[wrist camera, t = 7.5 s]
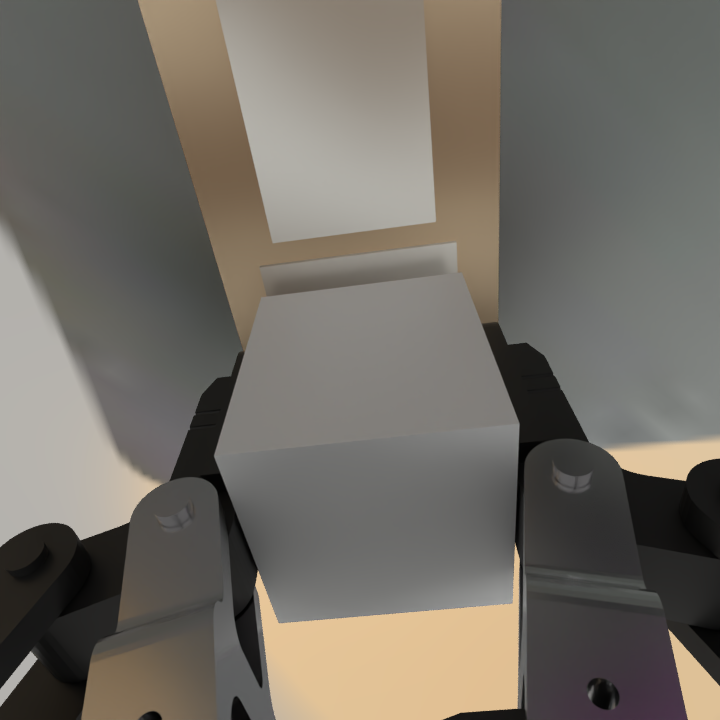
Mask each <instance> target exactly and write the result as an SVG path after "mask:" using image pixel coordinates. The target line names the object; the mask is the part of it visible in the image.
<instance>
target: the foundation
mask: <svg viewBox="0 0 720 720" xmlns="http://www.w3.org/2000/svg"><path fill="white" fill-rule="evenodd" d="M138 3H139V6H140V9H141V13H142V16H143V19H144V23H145V26H146V29H147V33H148V36H149V39H150V43H151V46H152V49H153V53H154V56H155V59H156V63H157V66H158V69H159V72H160V76H161V79H162V82H163V86H164V89H165V92H166V96H167V99H168V102H169V106H170V109H171V112H172V116H173V119H174V122H175V126H176V129H177V132H178V136H179V139H180V142H181V145H182V149H183V152H184V155H185V159H186V162H187V165H188V169H189V172H190V175H191V179H192V182H193V185H194V189H195V192H196V195H197V199H198V202H199V205H200V209H201V212H202V215H203V218H204V222H205V225H206V228H207V232H208V235H209V238H210V242H211V245H212V248H213V252H214V255H215V258H216V262H217V265H218V268H219V272H220V275H221V278H222V282H223V285H224V288H225V291H226V295H227V298H228V301H229V305H230V308H231V311H232V315H233V318H234V321H235V325H236V328H237V331H238V335H239V338H240V341H241V345H242V348H243V351H245V350H246V347H247V343H248V340H249V337H250V333H251V330H252V327H253V323H254V320H255V317H256V313H257V310H258V307H259V303H260V300H261V297H268V296H276V295H284V294H292V293H300V292H308V291H316V290H324V289H332V288H340V287H348V286H356V285H364V284H372V283H380V282H388V281H396V280H404V279H412V278H420V277H428V276H436V275H444V274H452V273H460V272H462V274H463V277H464V279H465V282H466V284H467V287H468V290H469V292H470V295H471V298H472V300H473V303H474V305H475V308H476V311H477V313H478V316H479V319H480V321H481V324H482V323H490V322H498V289H499V184H500V80H501V0H138Z"/></svg>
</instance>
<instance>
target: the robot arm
mask: <svg viewBox="0 0 720 720" xmlns="http://www.w3.org/2000/svg"><path fill="white" fill-rule="evenodd" d="M482 326H483V329H484V332H485V334H486V337H487V340H488V342H489V345H490V347H491V350H492V353H493V355H494V358H495V361H496V363H497V366H498V368H499V371H500V374H501V376H502V379H503V382H504V384H505V387H506V389H507V392H508V395H509V397H510V400H511V403H512V405H513V408H514V410H515V413H516V416H517V418H518V421H519V450H518V475H517V500H516V526H515V544H516V547H517V551H518V554H519V558H520V568H519V662H518V663H519V664H518V666H519V668H518V676H519V677H518V709H508V710H494V711H480V712H467V713H459V714H457V715H454V716H451V717H449V718H446V719H444V720H688V719H687V714H686V711H685V705H684V700H683V696H682V691H681V687H680V682H679V677H678V673H677V668H676V663H675V659H674V654H673V650H672V645H671V640H670V636H669V631H668V629H669V630H670V631H671V632H672V633H673V634H674V635H675V636H676V638H677V639H678V640H679V641H680V642H681V643H682V644H683V645H684V647H685V648H686V649H687V650H688V651H689V652H690V653H691V654H692V655H693V657H694V658H695V659H696V660H697V661H698V662H699V663H700V664H701V666H702V667H703V668H704V669H705V670H706V671H707V672H708V673H709V674H710V676H711V677H712V678H713V679H714V680H715V681H716V682H717V683H718V684H719V686H720V459H713V460H708V461H705V462H702V463H700V464H698V465H696V466H695V467H694V468H692V470H691V471H690V472H689V474H688V476H687V480H686V481H682V480H674V479H667V478H660V477H653V476H647V475H641V474H637V473H633V472H629V471H627V470H624V469H622V468H621V467H620V466H619V464H618V462H617V461H616V460H615V459H614V457H613V456H611V455H610V454H609V453H608V452H607V451H605V450H604V449H602V448H600V447H598V446H596V445H594V444H591V443H589V441H588V439H587V437H586V435H585V433H584V432H583V430H582V428H581V426H580V424H579V422H578V420H577V418H576V416H575V414H574V412H573V410H572V408H571V406H570V404H569V403H568V401H567V399H566V397H565V395H564V393H563V391H562V390H561V389H560V385H559V383H558V381H557V379H556V377H555V376H553V372H552V370H551V368H550V366H549V364H548V362H547V360H546V358H545V356H544V355H542V354H541V353H540V352H538V351H537V350H536V349H534V348H533V347H532V346H530V345H529V344H527V343H520V344H511V345H507V342H506V340H505V338H504V335H503V333H502V331H501V328H500V326H499V324H498V322H490V323H482ZM244 354H245V351H242V352H239V354H238V356H237V359H236V362H235V366H234V369H233V372H232V375H231V376H230V377H222V378H217V379H216V380H215V381H214V382H213V383H212V384H211V385H210V386H209V387H208V389H207V390H206V391H205V392H204V393H203V394H202V396H201V398H200V401H199V404H198V406H197V409H196V412H195V413H196V415H195V416H194V417H193V420H192V422H191V425H190V430H188V433H187V436H186V439H185V441H184V444H183V447H182V449H181V452H180V455H179V457H178V460H177V463H176V465H175V468H174V471H173V473H172V476H171V479H170V481H169V482H167V483H165V484H162V485H160V486H159V487H157V488H155V489H154V490H152V491H151V492H150V493H148V494H147V495H146V496H145V497H144V498H143V499H142V500H141V501H140V503H139V504H138V505H137V507H136V508H135V510H134V511H133V514H132V516H131V520H130V522H129V523H127V524H125V525H122V526H120V527H117V528H114V529H112V530H109V531H106V532H103V533H101V534H97V535H95V536H92V537H89V538H86V539H83V540H81V541H80V540H79V538H78V536H77V535H76V534H75V532H74V531H73V529H72V528H70V527H69V526H67V525H64V524H60V523H49V524H43V525H39V526H36V527H33V528H31V529H28V530H26V531H24V532H22V533H20V534H18V535H16V536H15V537H13V538H12V539H10V540H9V541H7V542H6V543H5V544H3V545H2V546H1V547H0V688H1V687H2V686H3V685H4V684H5V682H6V681H7V680H8V679H9V677H10V676H11V675H12V673H13V672H14V671H15V670H16V668H17V667H18V666H19V665H20V664H21V662H22V661H23V660H24V659H25V657H26V656H27V655H28V654H29V652H30V651H31V652H32V653H33V654H34V655H35V656H36V657H37V658H38V660H37V661H36V662H35V663H34V665H33V666H32V667H31V668H30V670H29V671H28V672H27V674H26V675H25V676H24V677H23V679H22V680H21V681H20V683H19V684H18V685H17V686H16V688H15V689H14V690H13V691H12V693H11V694H10V695H9V697H8V698H7V699H6V700H5V702H4V703H3V704H2V706H1V707H0V720H276V719H275V716H274V711H273V707H272V702H271V696H270V689H269V681H268V672H267V663H266V655H265V646H264V637H263V629H262V622H261V621H262V620H261V612H260V603H259V596H258V592H257V590H256V587H255V583H256V577H257V571H258V568H257V566H256V563H255V561H254V558H253V555H252V553H251V550H250V548H249V545H248V542H247V540H246V537H245V535H244V532H243V530H242V527H241V524H240V522H239V519H238V517H237V514H236V512H235V509H234V506H233V504H232V501H231V499H230V496H229V494H228V491H227V488H226V486H225V483H224V481H223V478H222V475H221V473H220V470H219V468H218V465H217V463H216V460H215V457H214V454H215V451H216V448H217V444H218V441H219V437H220V434H221V431H222V427H223V424H224V421H225V417H226V414H227V411H228V407H229V404H230V401H231V397H232V394H233V390H234V387H235V384H236V380H237V377H238V374H239V370H240V367H241V364H242V360H243V357H244Z"/></svg>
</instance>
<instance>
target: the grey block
mask: <svg viewBox="0 0 720 720" xmlns="http://www.w3.org/2000/svg"><path fill="white" fill-rule="evenodd" d="M518 450H519V421H518V418H517V416H516V413H515V410H514V408H513V405H512V403H511V400H510V397H509V395H508V392H507V389H506V387H505V384H504V382H503V379H502V376H501V374H500V371H499V368H498V366H497V363H496V361H495V358H494V355H493V353H492V350H491V347H490V345H489V342H488V340H487V337H486V334H485V332H484V329H483V326H482V324H481V321H480V319H479V316H478V313H477V311H476V308H475V305H474V303H473V300H472V298H471V295H470V292H469V290H468V287H467V284H466V282H465V279H464V277H463V274H462V272H460V273H452V274H444V275H436V276H428V277H420V278H412V279H404V280H396V281H388V282H380V283H372V284H364V285H356V286H348V287H340V288H332V289H324V290H316V291H308V292H300V293H292V294H284V295H276V296H268V297H261V300H260V303H259V307H258V310H257V313H256V317H255V320H254V323H253V327H252V330H251V333H250V337H249V340H248V343H247V347H246V350H245V354H244V357H243V360H242V364H241V367H240V370H239V374H238V377H237V380H236V384H235V387H234V390H233V394H232V397H231V401H230V404H229V407H228V411H227V414H226V417H225V421H224V424H223V427H222V431H221V434H220V437H219V441H218V444H217V448H216V451H215V454H214V457H215V460H216V463H217V465H218V468H219V470H220V473H221V475H222V478H223V481H224V483H225V486H226V488H227V491H228V494H229V496H230V499H231V501H232V504H233V506H234V509H235V512H236V514H237V517H238V519H239V522H240V524H241V527H242V530H243V532H244V535H245V537H246V540H247V542H248V545H249V548H250V550H251V553H252V555H253V558H254V561H255V563H256V566H257V568H258V571H259V573H260V576H261V579H262V581H263V583H264V586H265V589H266V591H267V594H268V596H269V599H270V602H271V604H272V607H273V609H274V612H275V615H276V617H277V620H278V622H279V623H287V622H298V621H310V620H323V619H335V618H346V617H358V616H370V615H381V614H393V613H405V612H417V611H429V610H441V609H452V608H464V607H476V606H487V605H498V604H511V603H512V601H513V600H512V599H513V576H514V550H515V526H516V500H517V475H518Z"/></svg>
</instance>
